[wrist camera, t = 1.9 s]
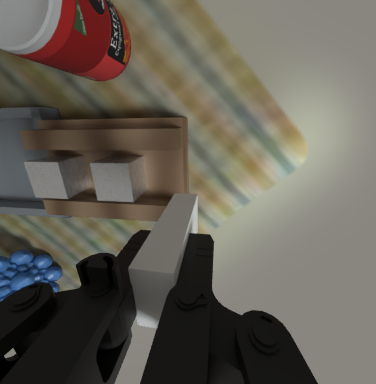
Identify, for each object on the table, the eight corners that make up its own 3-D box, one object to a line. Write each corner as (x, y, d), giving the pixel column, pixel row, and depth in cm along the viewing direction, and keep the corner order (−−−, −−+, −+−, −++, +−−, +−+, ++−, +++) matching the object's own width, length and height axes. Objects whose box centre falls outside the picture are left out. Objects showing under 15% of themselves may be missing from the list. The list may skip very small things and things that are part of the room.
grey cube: (116, 187, 23) (97, 200, 19) (111, 155, 21) (89, 162, 18) (147, 188, 22) (133, 202, 19) (143, 155, 21) (128, 163, 17)
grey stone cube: (63, 185, 24) (35, 197, 20) (55, 154, 22) (23, 161, 19) (91, 186, 23) (67, 199, 20) (84, 155, 22) (57, 162, 18)
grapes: (16, 243, 35) (-76, 299, 24) (35, 229, 33) (-57, 283, 22) (58, 285, 38) (-7, 352, 27) (79, 274, 36) (17, 342, 25)
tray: (0, 204, 32) (-20, 212, 29) (-39, 111, 27) (-69, 110, 24) (83, 209, 30) (69, 217, 27) (58, 108, 24) (37, 106, 22)
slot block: (83, 200, 29) (49, 221, 23) (64, 120, 25) (16, 120, 19) (188, 205, 27) (180, 230, 21) (187, 117, 22) (176, 116, 16)
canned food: (144, 66, 21) (76, 17, 11) (88, 93, 23) (-12, 72, 13) (114, -15, 19) (-4, -174, 9) (56, 22, 21) (-96, -72, 11)
